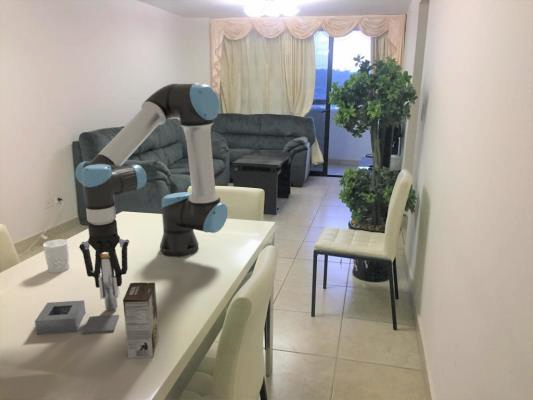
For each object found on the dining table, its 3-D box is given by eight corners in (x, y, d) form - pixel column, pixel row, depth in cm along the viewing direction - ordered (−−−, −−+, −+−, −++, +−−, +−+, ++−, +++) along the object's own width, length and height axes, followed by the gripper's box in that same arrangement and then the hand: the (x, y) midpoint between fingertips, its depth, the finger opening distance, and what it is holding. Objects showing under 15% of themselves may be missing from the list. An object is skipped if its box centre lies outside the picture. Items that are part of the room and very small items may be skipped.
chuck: (85, 312, 127) (84, 300, 126) (76, 331, 117) (74, 318, 116) (49, 315, 125) (47, 302, 124) (36, 334, 116) (34, 321, 115)
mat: (118, 316, 125) (118, 314, 125) (113, 331, 117) (113, 329, 117) (89, 318, 124) (89, 316, 123) (82, 334, 116) (82, 332, 116)
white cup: (61, 274, 151) (58, 248, 149) (41, 272, 153) (37, 246, 150) (75, 265, 159) (72, 240, 156) (56, 263, 160) (53, 238, 158)
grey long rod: (118, 303, 130) (113, 251, 126) (116, 309, 127) (110, 256, 122) (106, 304, 130) (100, 252, 125) (104, 310, 126) (98, 257, 122)
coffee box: (134, 338, 114) (130, 282, 110) (159, 336, 115) (155, 281, 111) (127, 359, 106) (121, 299, 101) (154, 358, 106) (149, 298, 102)
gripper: (134, 215, 126) (140, 288, 132) (74, 217, 123) (84, 292, 130) (130, 223, 118) (137, 300, 125) (67, 226, 116) (77, 304, 123)
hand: (110, 296), depth 127 cm, fingers closed on grey long rod, 3 cm apart
